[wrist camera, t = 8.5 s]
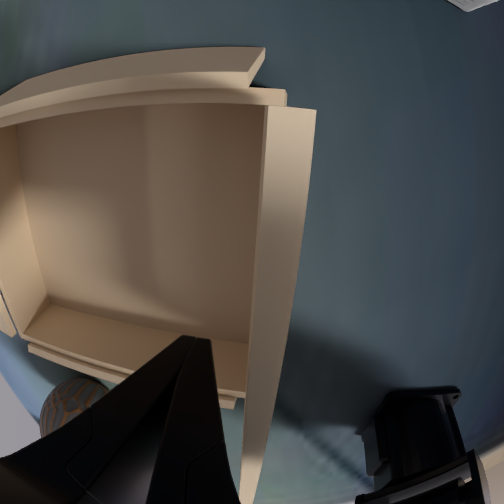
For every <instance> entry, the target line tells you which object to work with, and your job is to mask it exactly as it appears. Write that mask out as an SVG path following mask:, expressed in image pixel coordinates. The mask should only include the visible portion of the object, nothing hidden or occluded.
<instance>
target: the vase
mask: <svg viewBox="0 0 504 504" xmlns="http://www.w3.org/2000/svg"><path fill="white" fill-rule="evenodd" d="M108 392H109V390H108V389H107V388H105V387H104V386H103V385H101V384H99V383H98V382H96V381H94V380H91V379H88V378H73V379H69V380H66V381H64V382H62V383H61V384H59V385H58V386H57V387H55V388H54V389H53V390H52V392H51V393H50V394H49V395H48V397H47V398H46V400H45V402H44V404H43V407H42V410H41V414H40V421H39V425H40V433H41V438H42V437H44V436H46V435H48V434H49V433H51V432H53V431H54V430H56V429H57V428H59V427H61V426H62V425H64V424H65V423H67V422H68V421H70V420H71V419H73V418H74V417H75V416H77V415H78V414H80V413H81V412H82V411H84V410H85V409H86V408H88V407H91V405H92V404H93V403H94V402H96V401H97V400H98V399H100V398H101V397H102V396H104V395H105V394H106V393H108Z"/></svg>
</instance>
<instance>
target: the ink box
mask: <svg viewBox="0 0 504 504" xmlns="http://www.w3.org/2000/svg"><path fill="white" fill-rule="evenodd" d="M447 1H449V2H451V3H452V4H454V5H456V6H457V7H459V8H460V9H462V10H463V11H466V12H468V11H471V10H474V9H477V8H479V7H482V6H484V5H487V4H490V3H493V2H496V1H498V0H447Z"/></svg>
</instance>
